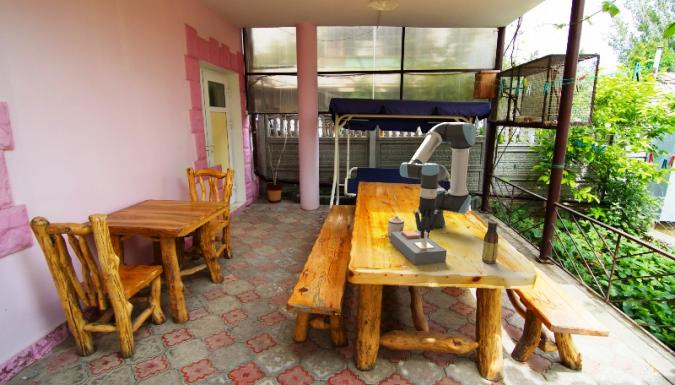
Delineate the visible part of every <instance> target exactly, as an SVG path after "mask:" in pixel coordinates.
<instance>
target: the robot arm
mask: <svg viewBox="0 0 675 385" xmlns="http://www.w3.org/2000/svg"><path fill="white" fill-rule="evenodd" d="M476 138H477V130H476V127H475V125H474V124H473V123H471V122H448V121H447V122H441V123H438V124H436V125H434V126H433V127H431V128H430V129H429V130H428V131H427V133H426V134H425V136H424V140H423V141H422V143H421V144H420V146H419V147H418V148H417V150H416V151H415V153H414V154H413V156H412V157H411V159H410V160H409V161H408V162H407V161H405V162H402V163H401V164H400V166H399V174H400V176H401V177H403V178H408V179H415V180H416V179H417V180H420V188H419V189H420V190H419V201H418V204H419V205H418V207H417V210H414V211H413V215H414V219H415V225H416V230H418V231H420V232H421V233H420V238H422V239H421V244H422V245H423V246H427V238H430V233H431V231H432V232H433V231H434V229H442V228H445V227H446V220H445V216H444V211H445V212H450V213H455V214H463V215H464V214H467V212H468V211H469V208H470V206H471V202H472V195H470V194H469V190H468V189H467V177H468V176H467V175H468V163H469V161H468V160H469V151H470V149H472V147H473V145H475V144H476ZM441 144H449V148H450V149H451V150H452V152H451V154H452V155H451V171H450V172H451V173H450V187H449V189H448V190H446V189H445V188H441V187H439V182H441V181H443V180H444V179H445V178H446V177H447V175H448V169H447V168H446V166H444V165H443V164H438V163H435V162H428V161H429V159H430V157H431V156H432V155H433V153H434V151H435V150H436V148H437V147H438V146H440V145H441Z"/></svg>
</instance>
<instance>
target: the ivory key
mask: <svg viewBox="0 0 675 385" xmlns="http://www.w3.org/2000/svg"><path fill="white" fill-rule="evenodd" d="M414 245H415V246H416V247H418V248H419V249H420V250H423V249H434V247H433V246H432V245H430V244H429V243H428V242H427V246H423V245H422V244H421V242H418V243H414Z"/></svg>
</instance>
